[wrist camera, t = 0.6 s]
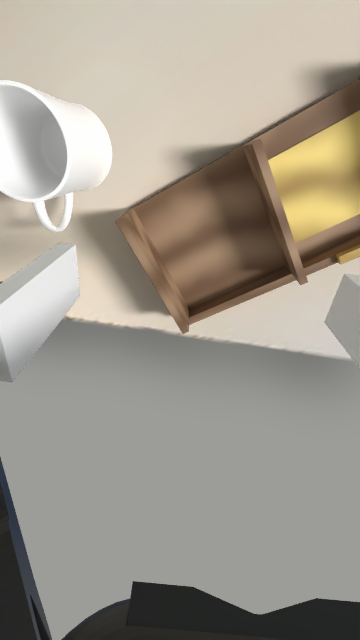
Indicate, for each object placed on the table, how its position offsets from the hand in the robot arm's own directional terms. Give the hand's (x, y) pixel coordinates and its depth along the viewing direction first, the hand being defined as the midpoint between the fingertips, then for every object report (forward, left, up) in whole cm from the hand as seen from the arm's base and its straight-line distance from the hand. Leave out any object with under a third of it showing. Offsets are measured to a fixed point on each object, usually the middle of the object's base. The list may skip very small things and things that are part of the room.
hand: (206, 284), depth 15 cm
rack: (+4, +7, -24) cm, 25 cm away
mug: (-11, -11, -24) cm, 28 cm away
